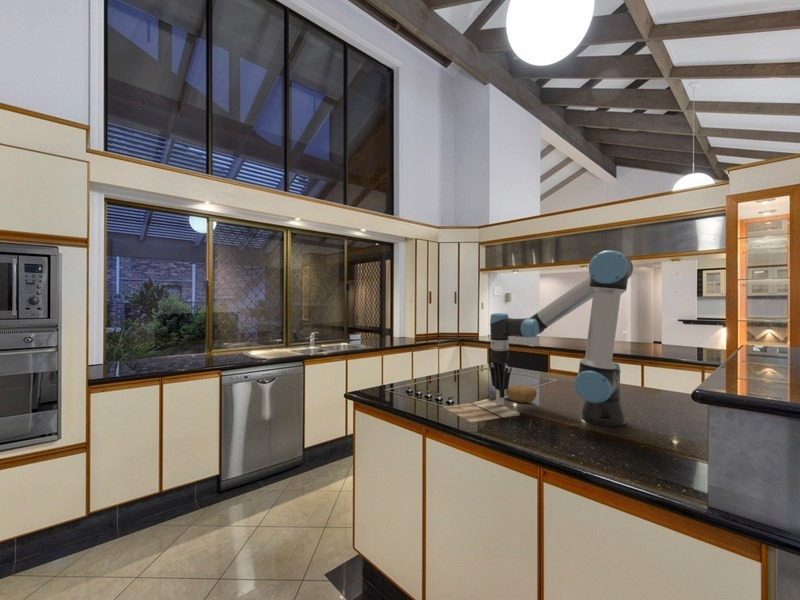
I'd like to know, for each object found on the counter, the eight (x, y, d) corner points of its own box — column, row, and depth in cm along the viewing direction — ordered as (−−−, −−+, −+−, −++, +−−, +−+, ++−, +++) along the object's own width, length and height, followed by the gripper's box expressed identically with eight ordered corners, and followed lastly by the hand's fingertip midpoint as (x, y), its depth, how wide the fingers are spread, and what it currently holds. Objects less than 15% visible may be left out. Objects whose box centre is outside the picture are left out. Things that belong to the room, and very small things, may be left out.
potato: (510, 398, 178) (510, 381, 178) (539, 403, 169) (539, 386, 169) (501, 402, 170) (501, 385, 170) (532, 408, 161) (532, 390, 161)
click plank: (519, 415, 148) (519, 412, 148) (503, 420, 145) (503, 416, 145) (486, 401, 168) (486, 398, 168) (472, 405, 165) (471, 402, 165)
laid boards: (501, 420, 144) (501, 417, 144) (470, 425, 139) (470, 422, 139) (469, 406, 165) (469, 403, 165) (442, 409, 160) (442, 406, 160)
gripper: (483, 348, 163) (483, 401, 163) (502, 352, 150) (502, 410, 151) (497, 346, 165) (497, 399, 166) (517, 350, 153) (517, 407, 153)
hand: (500, 404), depth 158 cm, fingers closed
